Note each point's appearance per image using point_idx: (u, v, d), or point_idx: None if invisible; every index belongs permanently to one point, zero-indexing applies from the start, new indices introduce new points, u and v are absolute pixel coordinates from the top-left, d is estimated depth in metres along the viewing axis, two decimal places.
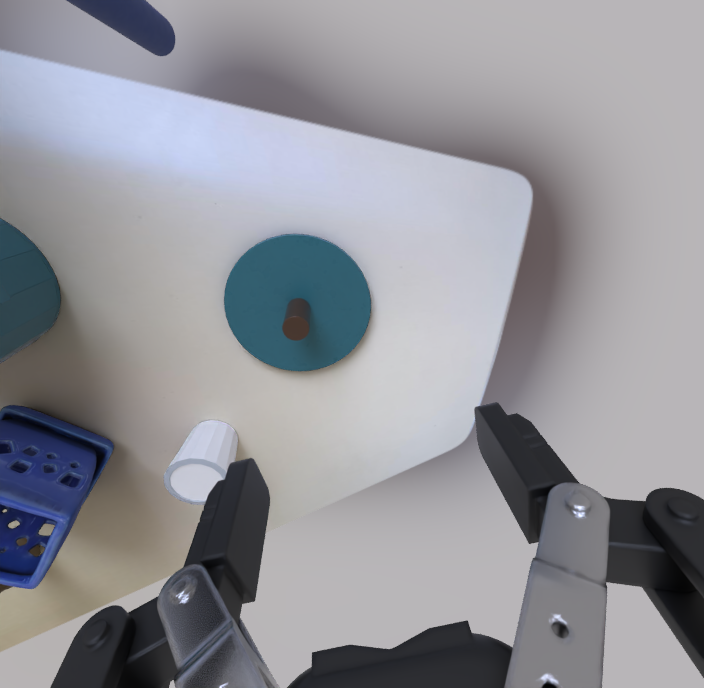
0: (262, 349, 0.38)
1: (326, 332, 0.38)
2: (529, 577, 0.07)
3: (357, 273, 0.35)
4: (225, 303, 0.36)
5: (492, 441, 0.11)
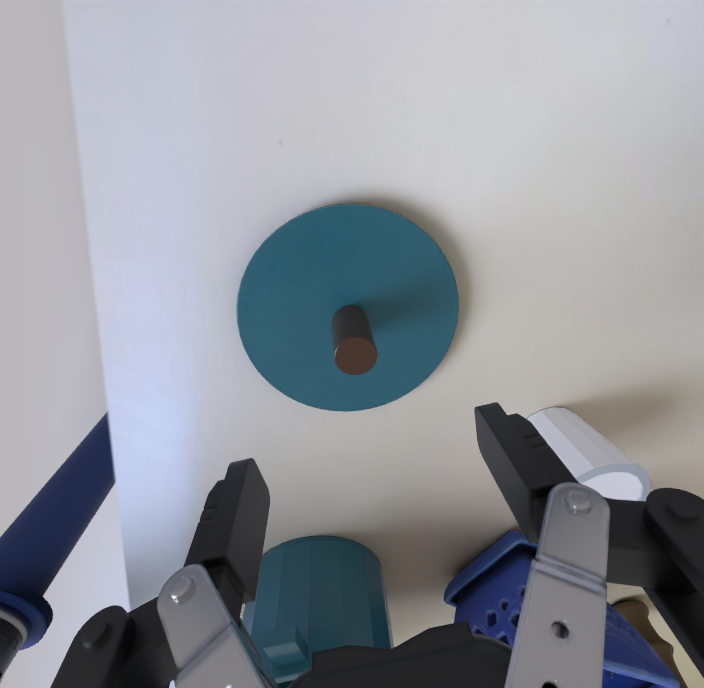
0: (411, 373, 0.26)
1: (392, 281, 0.23)
2: (529, 577, 0.07)
3: (289, 230, 0.21)
4: (339, 409, 0.27)
5: (492, 441, 0.11)
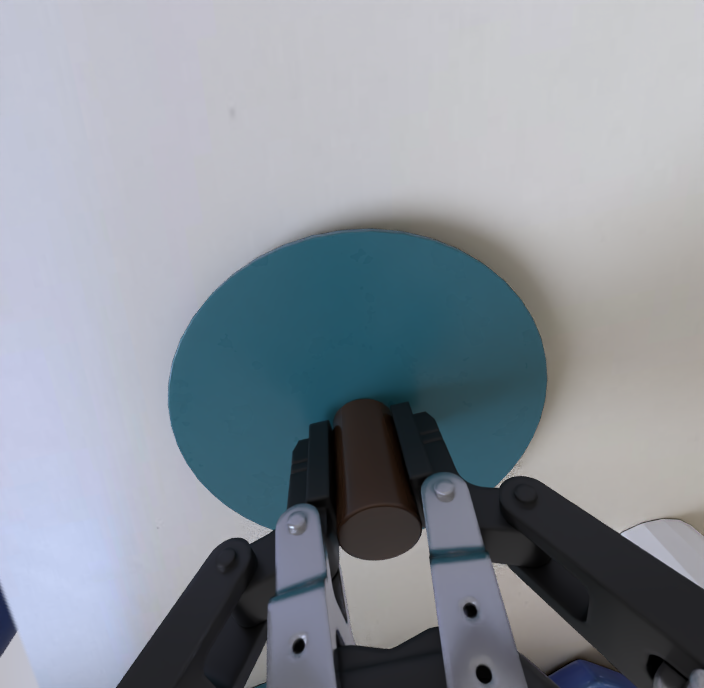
0: None
1: (437, 360, 0.13)
2: (432, 576, 0.07)
3: (252, 278, 0.11)
4: None
5: None
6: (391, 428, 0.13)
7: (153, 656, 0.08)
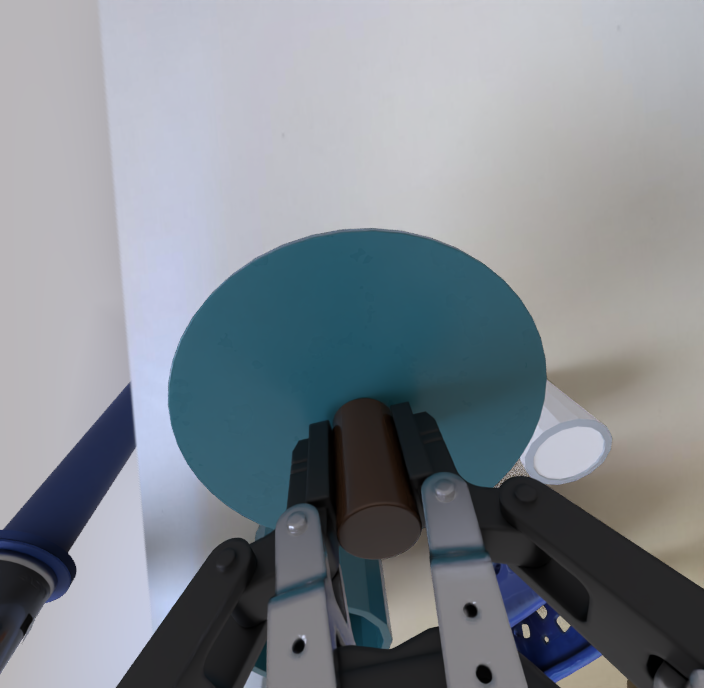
0: None
1: (437, 360, 0.13)
2: (433, 576, 0.07)
3: (252, 278, 0.11)
4: None
5: None
6: (391, 427, 0.13)
7: (153, 656, 0.08)
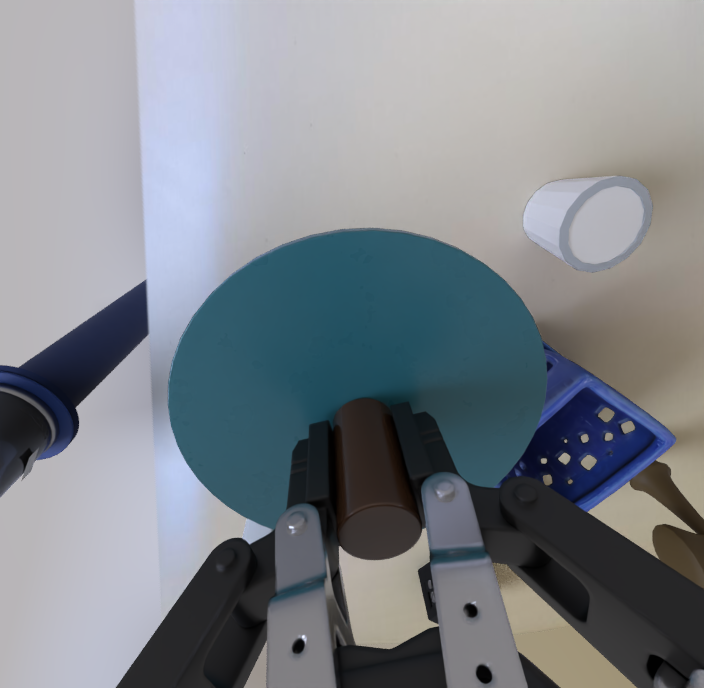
0: None
1: (437, 360, 0.13)
2: (433, 576, 0.07)
3: (252, 277, 0.11)
4: None
5: None
6: (391, 428, 0.13)
7: (153, 656, 0.08)
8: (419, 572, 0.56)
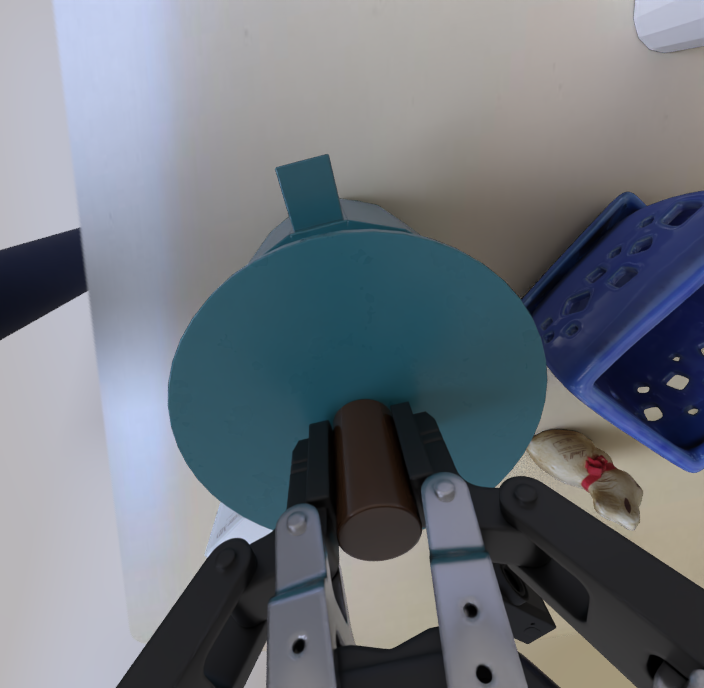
0: None
1: (437, 361, 0.13)
2: (433, 576, 0.07)
3: (252, 279, 0.11)
4: None
5: None
6: (391, 429, 0.13)
7: (153, 656, 0.08)
8: None
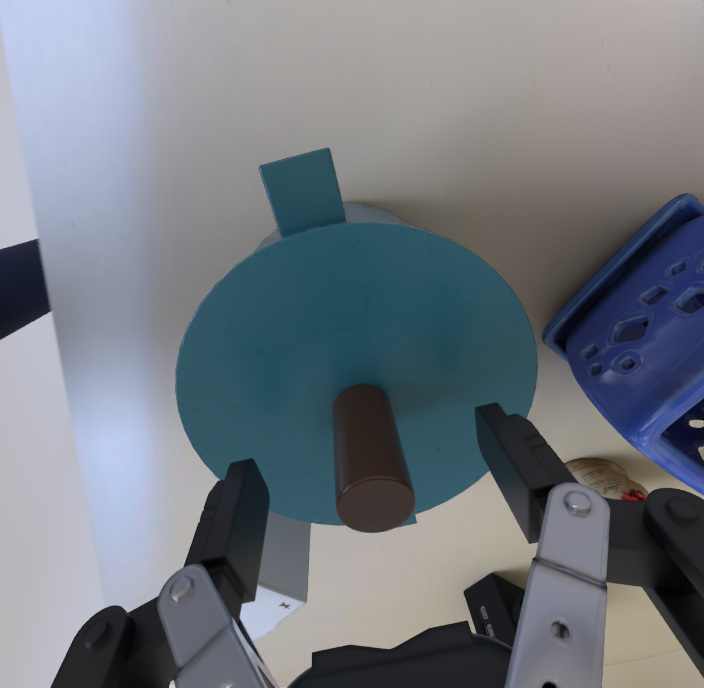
0: (455, 474, 0.17)
1: (432, 347, 0.14)
2: (529, 577, 0.07)
3: (256, 268, 0.12)
4: (344, 524, 0.18)
5: (492, 441, 0.11)
6: (388, 411, 0.13)
7: None
8: (466, 594, 0.41)
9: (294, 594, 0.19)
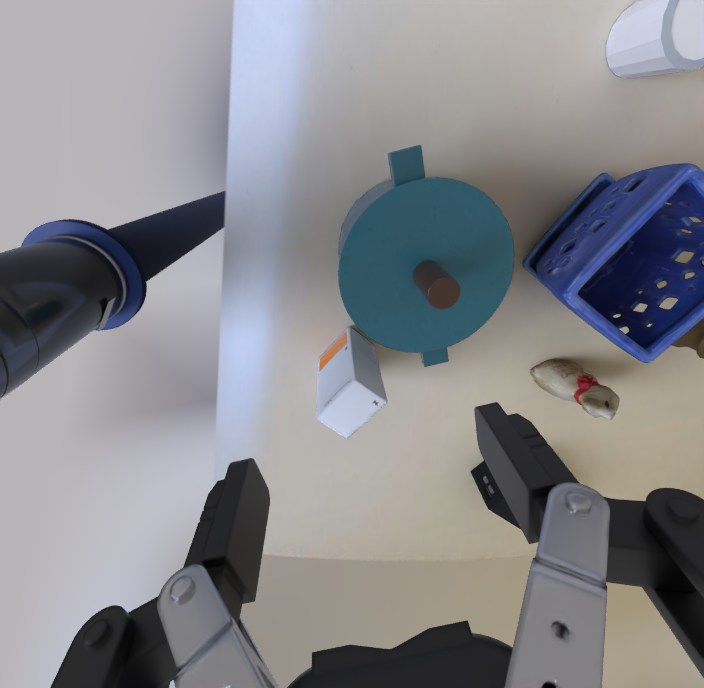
0: (472, 319, 0.32)
1: (463, 241, 0.29)
2: (529, 577, 0.07)
3: (387, 198, 0.27)
4: (411, 351, 0.33)
5: (492, 441, 0.11)
6: (443, 269, 0.28)
7: None
8: (472, 472, 0.56)
9: (381, 396, 0.34)
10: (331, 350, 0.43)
